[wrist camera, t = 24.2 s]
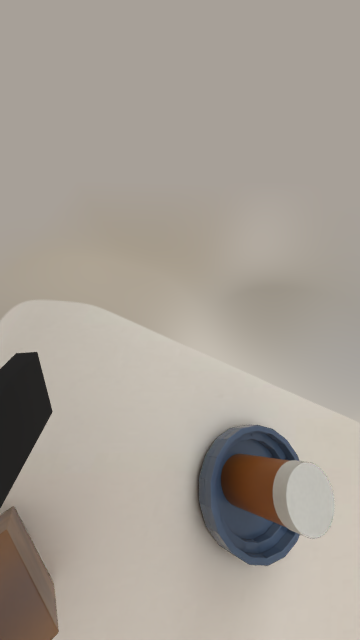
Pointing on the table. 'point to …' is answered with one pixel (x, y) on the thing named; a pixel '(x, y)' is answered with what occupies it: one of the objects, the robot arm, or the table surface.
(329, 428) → the table surface
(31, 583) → the riser
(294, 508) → the vitamin bottle
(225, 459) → the bowl
